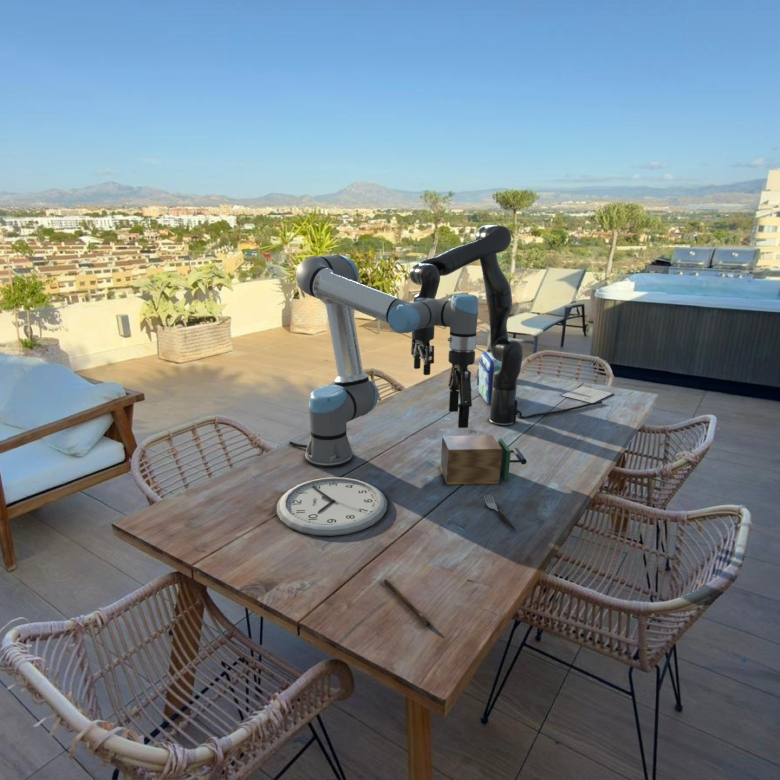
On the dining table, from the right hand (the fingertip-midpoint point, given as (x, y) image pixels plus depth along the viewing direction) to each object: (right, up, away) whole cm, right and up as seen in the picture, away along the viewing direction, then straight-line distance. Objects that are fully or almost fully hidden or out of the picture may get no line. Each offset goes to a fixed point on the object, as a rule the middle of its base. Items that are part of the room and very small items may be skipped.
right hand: (421, 371), depth 179 cm
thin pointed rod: (-8, -50, -73) cm, 89 cm away
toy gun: (+39, +1, +92) cm, 100 cm away
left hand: (+9, -15, -24) cm, 30 cm away
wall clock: (-27, -38, -37) cm, 59 cm away
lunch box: (+35, -11, +54) cm, 65 cm away
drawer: (+20, -32, -18) cm, 42 cm away
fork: (+18, -40, -40) cm, 60 cm away
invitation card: (+81, -9, +63) cm, 103 cm away
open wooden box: (+13, -33, -18) cm, 40 cm away
